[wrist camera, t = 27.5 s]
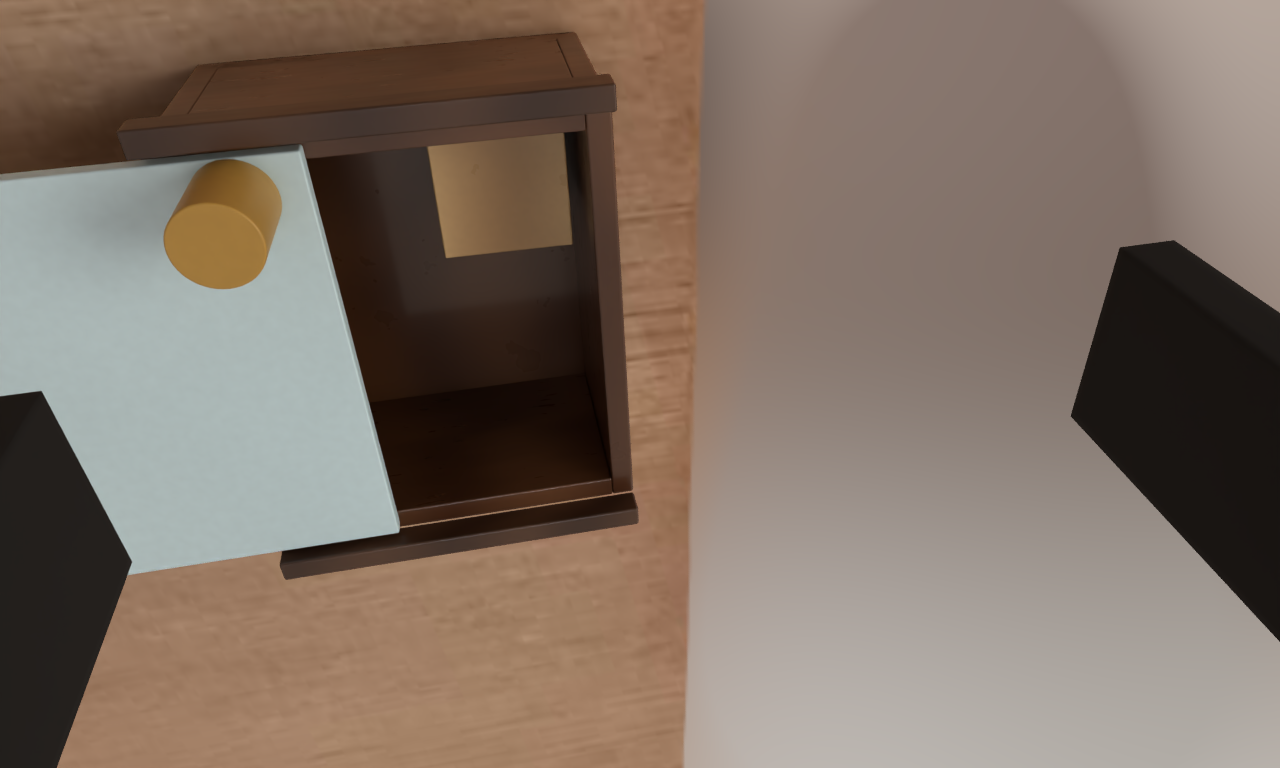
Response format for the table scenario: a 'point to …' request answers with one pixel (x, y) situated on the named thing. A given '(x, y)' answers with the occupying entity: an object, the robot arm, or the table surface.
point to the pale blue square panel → (193, 352)
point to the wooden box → (450, 280)
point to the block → (502, 194)
